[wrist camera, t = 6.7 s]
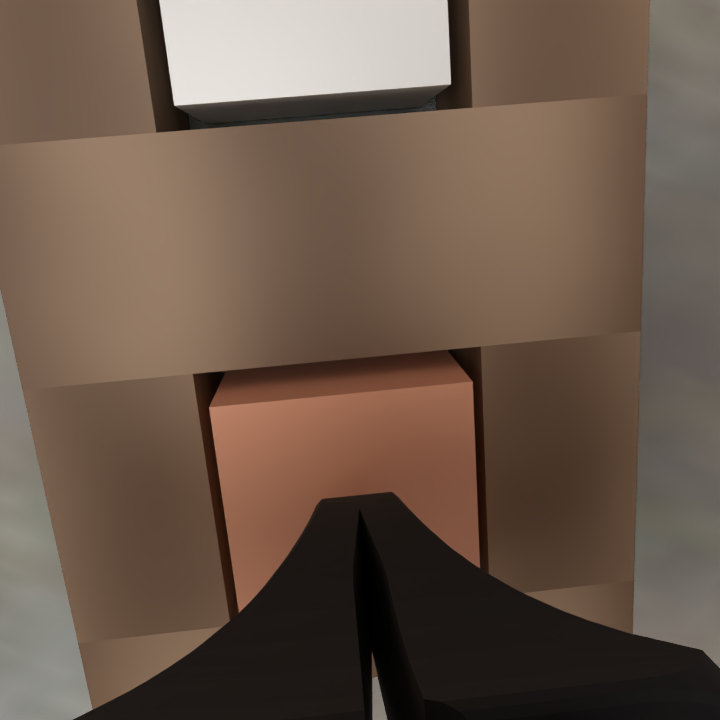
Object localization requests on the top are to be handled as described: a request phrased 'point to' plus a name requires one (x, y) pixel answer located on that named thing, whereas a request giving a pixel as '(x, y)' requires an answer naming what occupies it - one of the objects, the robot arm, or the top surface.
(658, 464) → the top surface
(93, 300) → the brown block tray
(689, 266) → the top surface
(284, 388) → the terracotta button
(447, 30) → the white block
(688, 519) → the top surface
